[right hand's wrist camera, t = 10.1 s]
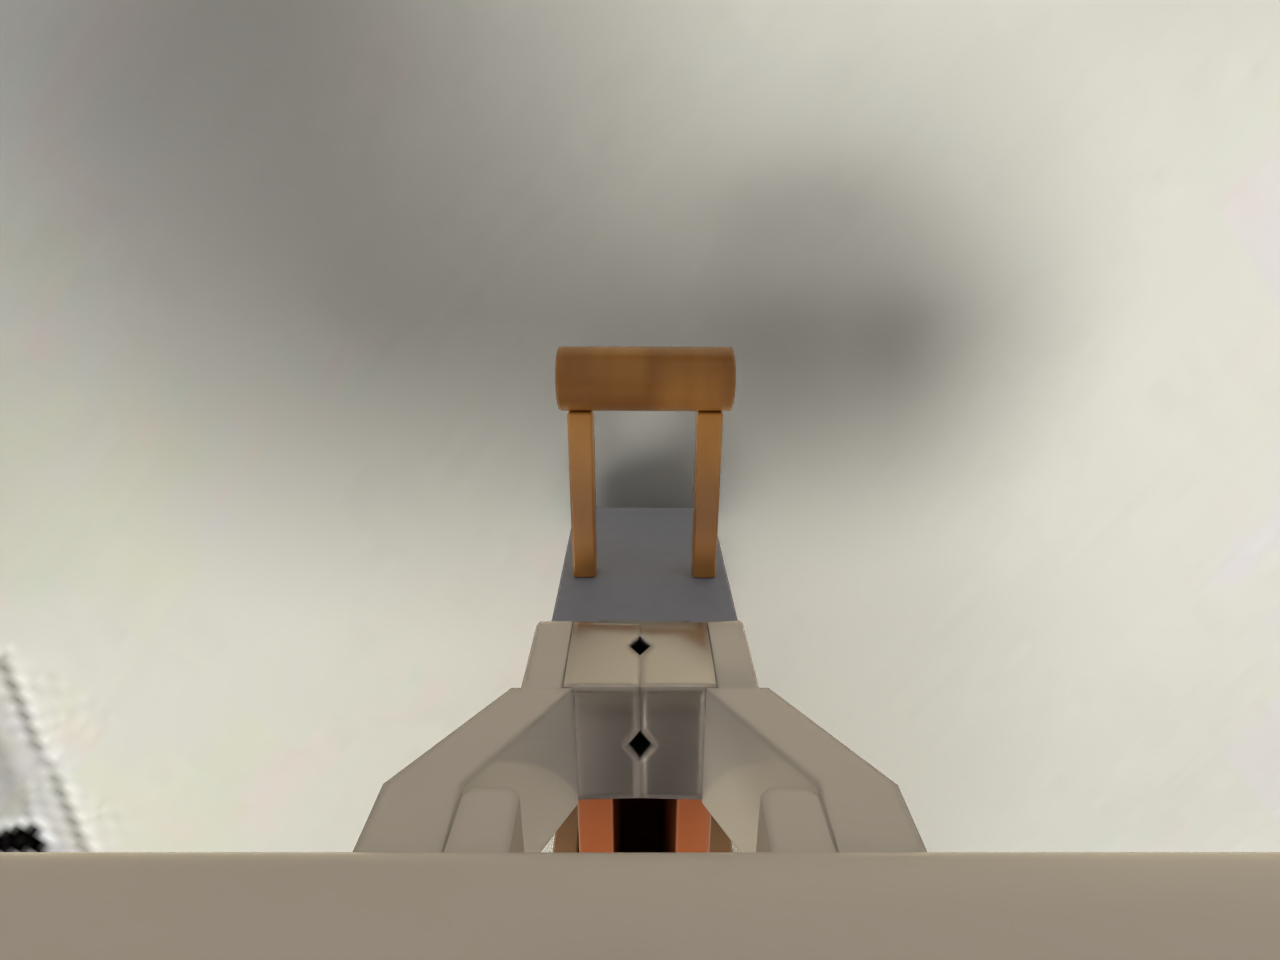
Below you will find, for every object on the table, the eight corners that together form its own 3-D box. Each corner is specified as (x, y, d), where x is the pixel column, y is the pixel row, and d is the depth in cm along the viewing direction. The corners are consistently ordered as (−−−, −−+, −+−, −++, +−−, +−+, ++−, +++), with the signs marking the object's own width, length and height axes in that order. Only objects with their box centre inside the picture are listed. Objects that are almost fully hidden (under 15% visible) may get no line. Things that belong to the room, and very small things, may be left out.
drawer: (569, 318, 21) (520, 397, 12) (719, 318, 21) (775, 398, 12) (589, 935, 30) (569, 1224, 22) (692, 935, 30) (714, 1224, 22)
